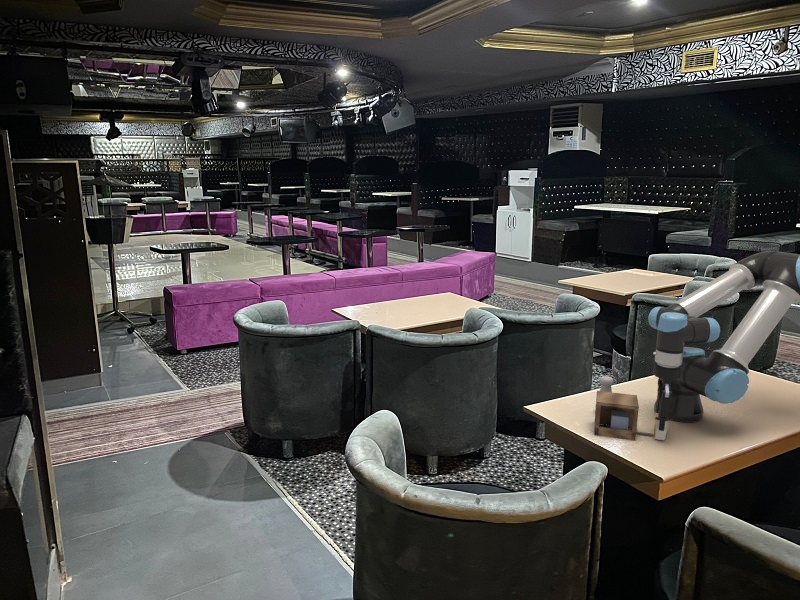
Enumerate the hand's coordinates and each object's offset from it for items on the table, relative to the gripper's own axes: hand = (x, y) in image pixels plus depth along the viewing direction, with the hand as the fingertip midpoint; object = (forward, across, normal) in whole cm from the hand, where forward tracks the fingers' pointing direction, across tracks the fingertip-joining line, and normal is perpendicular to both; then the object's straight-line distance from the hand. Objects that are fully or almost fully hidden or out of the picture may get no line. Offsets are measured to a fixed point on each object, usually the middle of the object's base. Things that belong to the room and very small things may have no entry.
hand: (659, 436), depth 183 cm
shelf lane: (0, 0, -13) cm, 13 cm away
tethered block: (0, 0, -6) cm, 6 cm away
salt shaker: (+1, -14, -16) cm, 21 cm away
